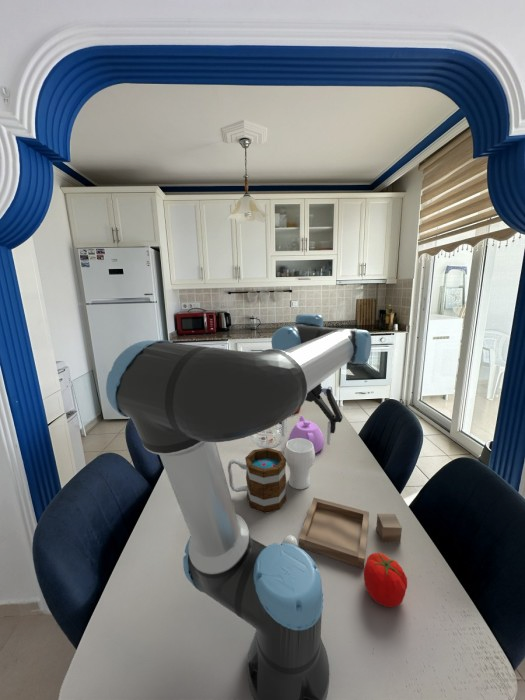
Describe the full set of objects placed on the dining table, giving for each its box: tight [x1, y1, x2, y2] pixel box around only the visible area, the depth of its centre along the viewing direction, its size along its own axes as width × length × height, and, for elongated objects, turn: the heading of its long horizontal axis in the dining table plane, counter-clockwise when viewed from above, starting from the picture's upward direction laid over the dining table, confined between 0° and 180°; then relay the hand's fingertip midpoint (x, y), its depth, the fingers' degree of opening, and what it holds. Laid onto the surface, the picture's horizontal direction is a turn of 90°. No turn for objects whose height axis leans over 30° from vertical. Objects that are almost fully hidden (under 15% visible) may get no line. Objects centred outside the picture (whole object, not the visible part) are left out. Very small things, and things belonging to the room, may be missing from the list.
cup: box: [284, 438, 316, 490], centre depth 107 cm, size 11×11×15 cm
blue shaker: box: [281, 534, 299, 547], centre depth 76 cm, size 4×4×9 cm
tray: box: [298, 497, 370, 570], centre depth 86 cm, size 17×17×3 cm
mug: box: [227, 447, 287, 514], centre depth 100 cm, size 20×14×15 cm
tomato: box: [363, 552, 408, 608], centre depth 69 cm, size 9×10×8 cm
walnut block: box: [375, 513, 403, 544], centre depth 85 cm, size 5×5×5 cm
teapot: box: [288, 415, 325, 454], centre depth 131 cm, size 22×16×12 cm
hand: (305, 438), depth 89 cm, fingers open, 13 cm apart
